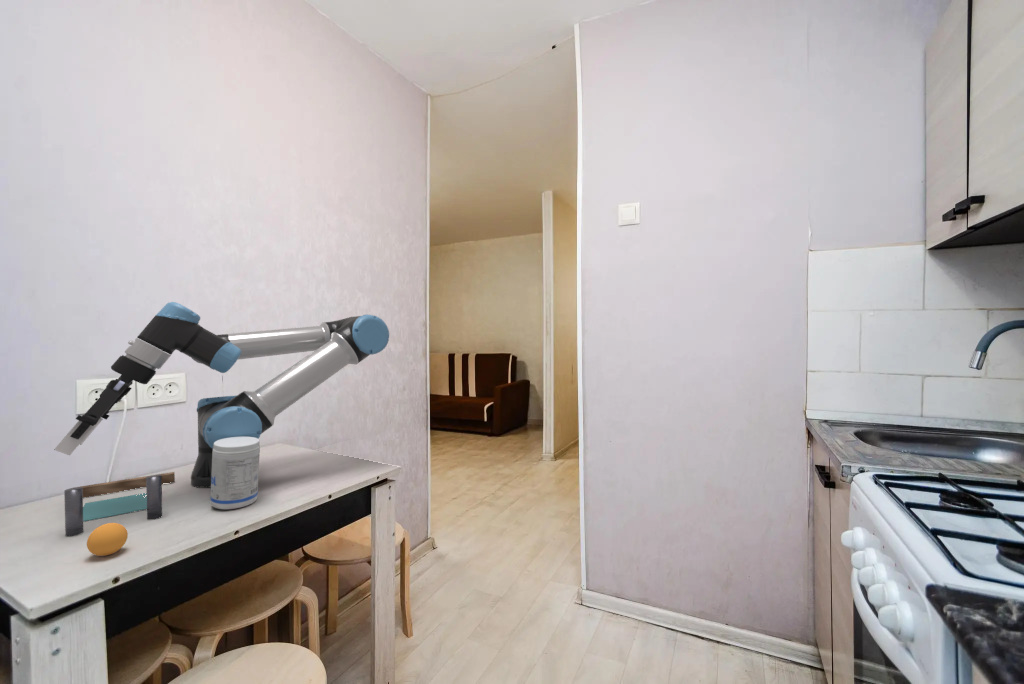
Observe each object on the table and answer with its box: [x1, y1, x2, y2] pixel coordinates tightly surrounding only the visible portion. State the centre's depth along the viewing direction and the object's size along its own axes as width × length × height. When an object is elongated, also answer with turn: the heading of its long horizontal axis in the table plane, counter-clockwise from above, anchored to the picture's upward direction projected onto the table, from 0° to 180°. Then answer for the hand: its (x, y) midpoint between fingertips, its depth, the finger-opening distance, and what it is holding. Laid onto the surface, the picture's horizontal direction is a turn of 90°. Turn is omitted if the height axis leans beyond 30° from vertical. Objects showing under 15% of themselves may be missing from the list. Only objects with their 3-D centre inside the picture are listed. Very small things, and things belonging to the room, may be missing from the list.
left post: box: [63, 486, 84, 538], centre depth 89 cm, size 3×3×9 cm
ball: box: [86, 522, 129, 557], centre depth 80 cm, size 6×6×6 cm
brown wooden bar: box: [73, 471, 176, 498], centre depth 115 cm, size 20×2×2 cm, turn 128°
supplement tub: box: [209, 437, 261, 510], centre depth 104 cm, size 10×10×15 cm
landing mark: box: [83, 492, 147, 523], centre depth 104 cm, size 14×14×1 cm
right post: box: [145, 474, 163, 520], centre depth 97 cm, size 3×3×9 cm
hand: (68, 447), depth 94 cm, fingers open, 13 cm apart
